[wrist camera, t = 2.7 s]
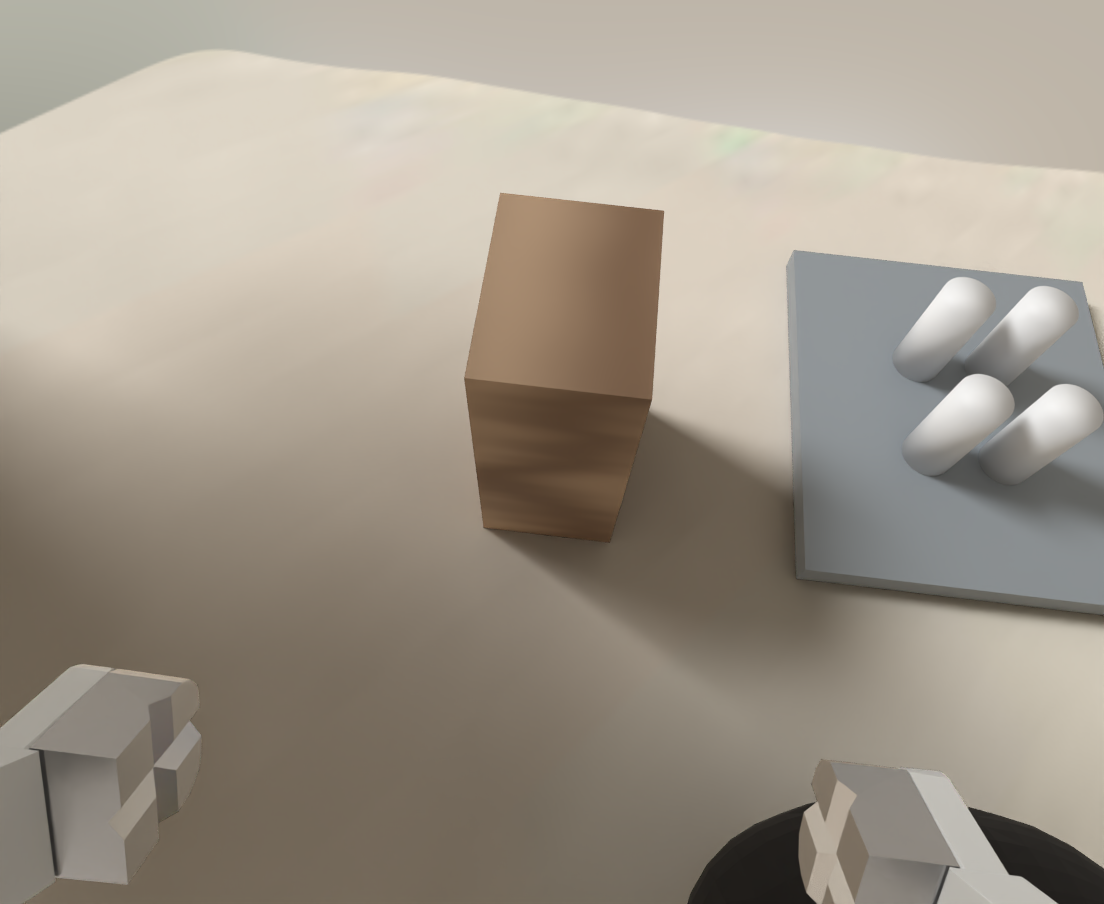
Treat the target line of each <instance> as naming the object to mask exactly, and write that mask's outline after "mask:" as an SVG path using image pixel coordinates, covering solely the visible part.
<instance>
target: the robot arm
mask: <svg viewBox="0 0 1104 904" xmlns="http://www.w3.org/2000/svg"><path fill="white" fill-rule="evenodd" d="M199 708H200V702H199V691H198V685H197V684H196V683H195V682H194V681H192V680H191V679H186V678H179V677H172V676H166V675H159V674H152V673H145V672H139V671H132V670H125V669H114V668H109V667H102V666H94V665H87V664H79V665H76V666H72V667H69V668H68V669H67V670H66V671H65V672H64V673H62V674H61V675H60V676H59V677H58V678H57V679H56V680H54V681H53V682H52V683H51V684H50V685H49V686H48V687H46V688H45V689H44V690H43V691H42V692H41V693H40V694H38V695H37V696H36V697H35V698H34V699H33V700H32V701H30V702H29V703H28V704H27V705H26V706H25V707H24V708H22V709H21V710H20V711H19V712H18V713H17V714H16V715H14V716H13V717H12V718H11V719H10V720H9V721H8V722H6V723H5V724H4V725H3V726H2V727H1V728H0V904H23V903H25V902H26V901H28V900H29V899H31V898H32V897H34V896H35V895H37V894H38V893H40V892H41V891H43V890H44V889H46V888H47V887H48V886H50V885H51V884H53V883H54V882H55V881H56V880H55V878H65V879H75V880H85V881H95V882H105V883H115V884H125V885H128V884H129V882H130V881H131V879H132V878H133V877H134V875H135V874H136V872H137V871H138V869H139V868H140V866H141V865H142V864H143V862H144V861H145V859H146V858H147V856H148V855H149V854H150V852H151V851H152V849H153V848H154V846H155V845H156V843H157V842H158V841H159V832H158V823H159V822H161V821H163V820H164V819H166V818H168V817H170V816H171V815H173V814H175V813H177V812H178V811H179V810H180V808H181V807H182V805H183V804H184V802H185V801H186V799H187V798H188V796H189V795H190V793H191V790H192V788H193V785H194V782H195V780H196V777H197V775H198V772H199V768H200V761H201V754H202V739H201V735H200V733H199V732H198V731H197V729H196V728H195V727H194V725H193V724H192V723H191V722H190V719H191V718H192V717H193V715H194V714H195V713H196V712H197V710H198V709H199ZM811 785H812V788H813V791H814V794H815V796H816V799H817V802H816V803H815V804H813V805H812V806H811V807H810V808H808V809H807V810H806V811H805V812H804V814H803V818H802V823H801V827H800V832H799V863H800V870H801V876H802V879H803V883H804V886H805V890H806V893H807V894H808V895H809V896H810V897H811V898H812V899H813V900H814V901H815V902H816V903H817V904H1058V903H1056V902H1055V901H1054V900H1052V899H1051V898H1050V897H1048V896H1047V895H1046V894H1044V893H1043V892H1042V891H1040V890H1039V889H1038V888H1036V887H1035V886H1034V885H1032V884H1031V883H1030V882H1028V881H1027V880H1026V879H1024V878H1023V877H1020V876H1013V875H1009V874H1008V873H1007V871H1006V869H1005V868H1004V866H1003V864H1002V863H1001V861H1000V860H999V858H998V856H997V855H996V853H995V852H994V850H993V848H992V847H991V845H990V843H989V842H988V840H987V839H986V837H985V835H984V834H983V832H982V830H981V829H980V827H979V826H978V824H977V822H976V821H975V819H974V818H973V816H972V814H971V813H970V811H969V809H968V808H967V806H966V805H965V803H964V801H963V800H962V798H961V797H960V795H959V793H958V792H957V790H956V788H955V787H954V785H953V784H952V782H951V780H950V779H949V778H948V777H947V776H946V775H945V774H943V773H942V772H941V771H934V770H924V769H914V768H904V767H900V768H892V767H884V766H875V765H867V764H859V763H851V762H842V761H834V760H826V759H821V761H820V762H819V764H818V765H817V767H816V769H815V772H814V776H813V780H812V783H811Z"/></svg>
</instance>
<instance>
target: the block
mask: <svg viewBox="0 0 1104 904" xmlns="http://www.w3.org/2000/svg"><path fill="white" fill-rule="evenodd" d="M663 219H664V211H661V210H652V209H643V208H634V207H625V206H615V205H606V204H597V203H588V202H579V201H570V200H561V199H552V198H543V197H534V196H524V195H515V194H506V193H500V197H499V202H498V207H497V212H496V217H495V223H494V228H493V233H492V238H491V243H490V248H489V253H488V259H487V264H486V269H485V274H484V279H483V284H482V289H481V295H480V300H479V305H478V310H477V315H476V320H475V325H474V331H473V336H472V341H471V346H470V351H469V356H468V361H467V367H466V372H465V377H464V380H465V387H466V395H467V403H468V410H469V418H470V426H471V433H472V441H473V449H474V457H475V464H476V472H477V480H478V487H479V495H480V503H481V510H482V518H483V526H484V528H491V529H500V530H508V531H516V532H525V533H533V534H542V535H550V536H558V537H567V538H575V539H583V540H592V541H600V542H609V543H610V540H611V536H612V533H613V530H614V526H615V523H616V519H617V516H618V513H619V509H620V506H621V503H622V499H623V496H624V492H625V489H626V486H627V482H628V479H629V476H630V472H631V469H632V465H633V462H634V459H635V455H636V452H637V449H638V445H639V442H640V438H641V435H642V432H643V428H644V425H645V422H646V418H647V415H648V411H649V408H650V405H651V401H652V392H653V376H654V360H655V345H656V329H657V313H658V298H659V282H660V266H661V251H662V235H663Z"/></svg>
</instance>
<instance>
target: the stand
mask: <svg viewBox="0 0 1104 904" xmlns="http://www.w3.org/2000/svg"><path fill="white" fill-rule="evenodd" d="M787 299H788V331H789V364H790V396H791V429H792V461H793V494H794V526H795V558H796V579H804V580H813V581H821V582H829V583H838V584H846V585H855V586H863V587H871V588H880V589H888V590H896V591H905V592H913V593H922V594H930V595H938V596H947V597H955V598H963V599H972V600H980V601H989V602H997V603H1005V604H1014V605H1022V606H1030V607H1039V608H1047V609H1056V610H1064V611H1072V612H1081V613H1089V614H1097V615H1104V367H1103V363H1102V359H1101V355H1100V351H1099V347H1098V343H1097V339H1096V335H1095V331H1094V327H1093V323H1092V319H1091V315H1090V311H1089V307H1088V303H1087V299H1086V295H1085V291H1084V287H1083V283H1082V282H1077V281H1068V280H1059V279H1050V278H1041V277H1032V276H1023V275H1014V274H1005V273H995V272H986V271H977V270H968V269H959V268H950V267H941V266H932V265H923V264H914V263H905V262H896V261H887V260H878V259H869V258H860V257H851V256H842V255H833V254H824V253H815V252H806V251H797V250H794V251H793V253H792V255H791V257H790V260H789V262H788V264H787Z"/></svg>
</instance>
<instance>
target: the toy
mask: <svg viewBox="0 0 1104 904" xmlns="http://www.w3.org/2000/svg"><path fill="white" fill-rule="evenodd" d="M815 803H816V802H814V803H810V804H806V805H804V806H801V807H798V808H795V809H792V810H790V811H787V812H784V813H781V814H779V815H776V816H774V817H772V818H769V819H767V820H764V821H762V822H760V823H757V824H755V825H753V826H752V827H750V828H748V829H747V830H745V831H744V832H742V833H740V834H739V835H737V836H736V837H734V838H732V839H731V840H730V841H729V842H728V843H727V844H726V845H725V846H724V847H723V848H722V849H721V850H720V851H719V852H718V853H717V854H716V856H715V857H714V858H713V859H712V860H711V861H710V862H709V863H708V864H707V866H706V868H705V869H704V871H703V873H702V874H701V876H700V878H699V880H698V881H697V883H696V885H695V886H694V888H693V890H692V892H691V894H690V897H689V900H688V903H687V904H817V903H816V902H815V901H814V900H813V899H812V898H811V897H810V896H809V895H808V894H807V893H806V890H805V886H804V883H803V879H802V876H801V870H800V863H799V832H800V827H801V823H802V818H803V814H804V812H805V811H806V810H807V809H808V808H810V807H811V806H812V805H813V804H815ZM967 808H968V809H969V811H970V813H971V814H972V816H973V818H974V819H975V821H976V822H977V824H978V826H979V827H980V829H981V830H982V832H983V834H984V835H985V837H986V839H987V840H988V842H989V843H990V845H991V847H992V848H993V850H994V852H995V853H996V855H997V856H998V858H999V860H1000V861H1001V863H1002V864H1003V866H1004V868H1005V869H1006V871H1007V873H1008V874H1009V875H1013V876H1020V877H1023V878H1024V879H1026V880H1027V881H1028V882H1030V883H1031V884H1032V885H1034V886H1035V887H1036V888H1038V889H1039V890H1040V891H1042V892H1043V893H1044V894H1046V895H1047V896H1048V897H1050V898H1051V899H1052V900H1054V901H1055V902H1056V903H1058V904H1104V869H1103V868H1102V867H1101V866H1099V865H1098V864H1096V863H1095V862H1094V861H1092V860H1091V859H1089V858H1088V857H1086V856H1085V855H1084V854H1082V853H1081V852H1079V851H1078V850H1076V849H1075V848H1074V847H1072V846H1070V845H1068V844H1067V843H1065V842H1063V841H1061V840H1059V839H1057V838H1055V837H1053V836H1051V835H1049V834H1047V833H1045V832H1043V831H1041V830H1039V829H1037V828H1035V827H1033V826H1030V825H1027V824H1024V823H1021V822H1018V821H1015V820H1011V819H1008V818H1005V817H1002V816H999V815H995V814H992V813H988V812H984V811H981V810H977V809H974V808H970V807H967Z"/></svg>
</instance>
